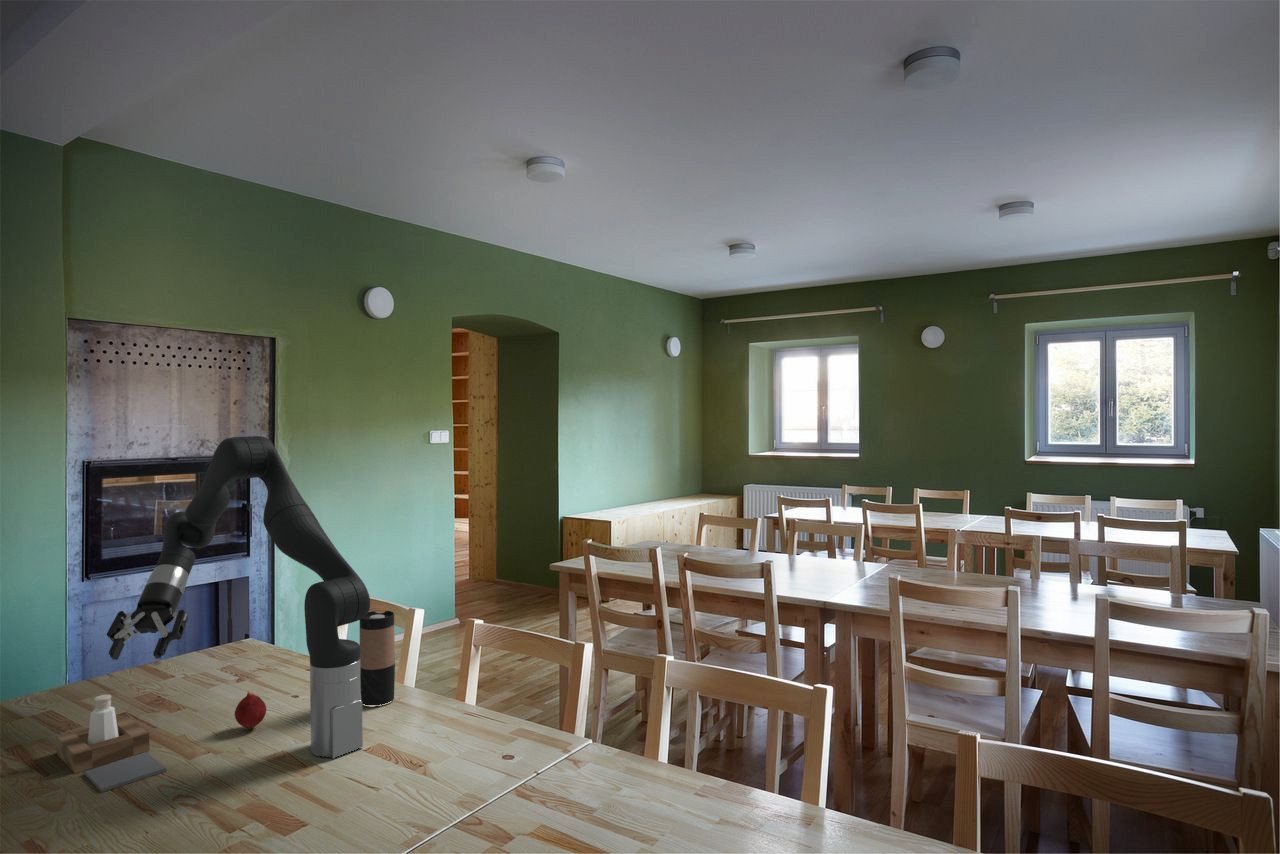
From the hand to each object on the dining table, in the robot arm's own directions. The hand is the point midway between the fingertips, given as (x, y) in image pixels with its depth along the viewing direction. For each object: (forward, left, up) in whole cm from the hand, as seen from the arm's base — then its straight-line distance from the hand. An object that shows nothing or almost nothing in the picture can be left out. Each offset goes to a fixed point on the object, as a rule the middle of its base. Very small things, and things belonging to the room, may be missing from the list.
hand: (135, 657), depth 156 cm
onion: (-19, -15, -15) cm, 29 cm away
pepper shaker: (-8, +8, -15) cm, 19 cm away
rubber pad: (-21, +8, -15) cm, 27 cm away
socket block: (-8, +8, -15) cm, 19 cm away
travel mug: (-26, -40, -15) cm, 50 cm away
